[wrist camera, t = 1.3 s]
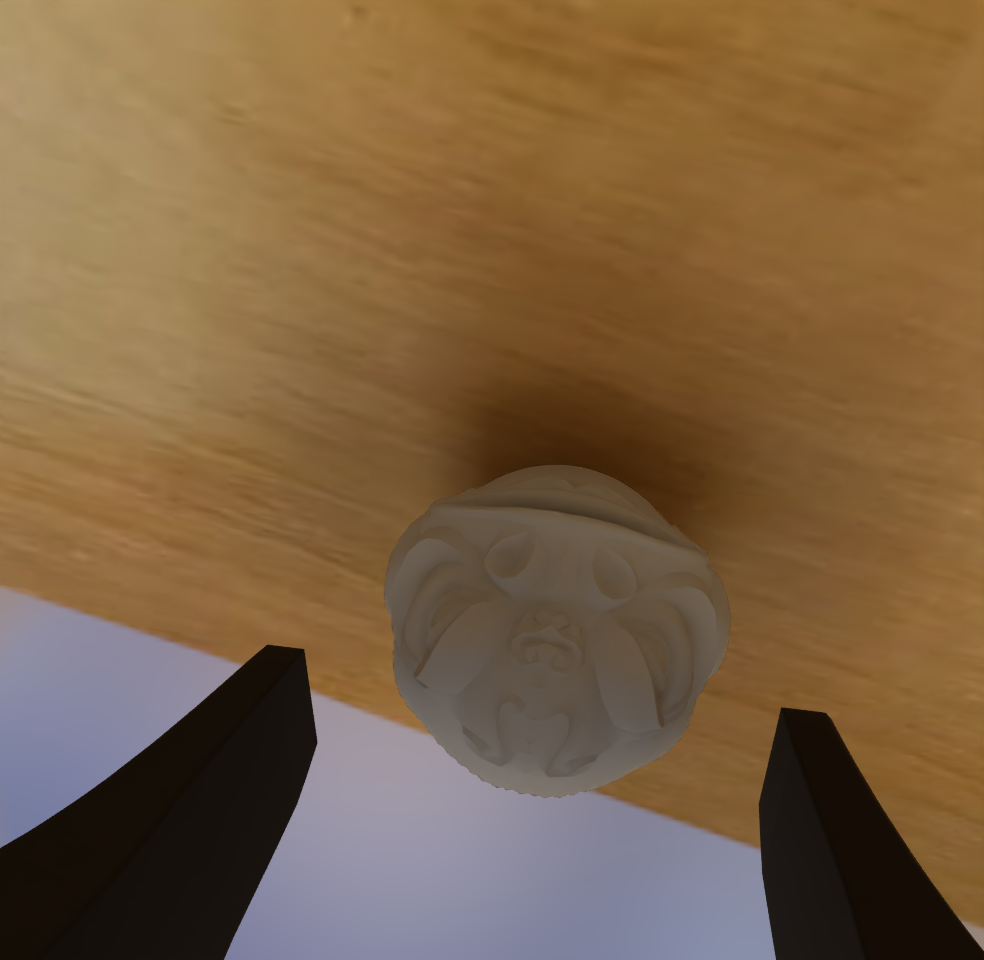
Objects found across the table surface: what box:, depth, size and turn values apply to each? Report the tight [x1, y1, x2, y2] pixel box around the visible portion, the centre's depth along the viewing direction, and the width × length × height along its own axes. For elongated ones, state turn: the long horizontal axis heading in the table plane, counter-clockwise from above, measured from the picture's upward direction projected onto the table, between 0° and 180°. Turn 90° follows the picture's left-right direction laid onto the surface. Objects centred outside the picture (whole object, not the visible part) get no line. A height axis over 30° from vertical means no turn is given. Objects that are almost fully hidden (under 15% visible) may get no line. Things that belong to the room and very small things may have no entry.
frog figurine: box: [384, 465, 731, 798], centre depth 15 cm, size 6×7×7 cm
